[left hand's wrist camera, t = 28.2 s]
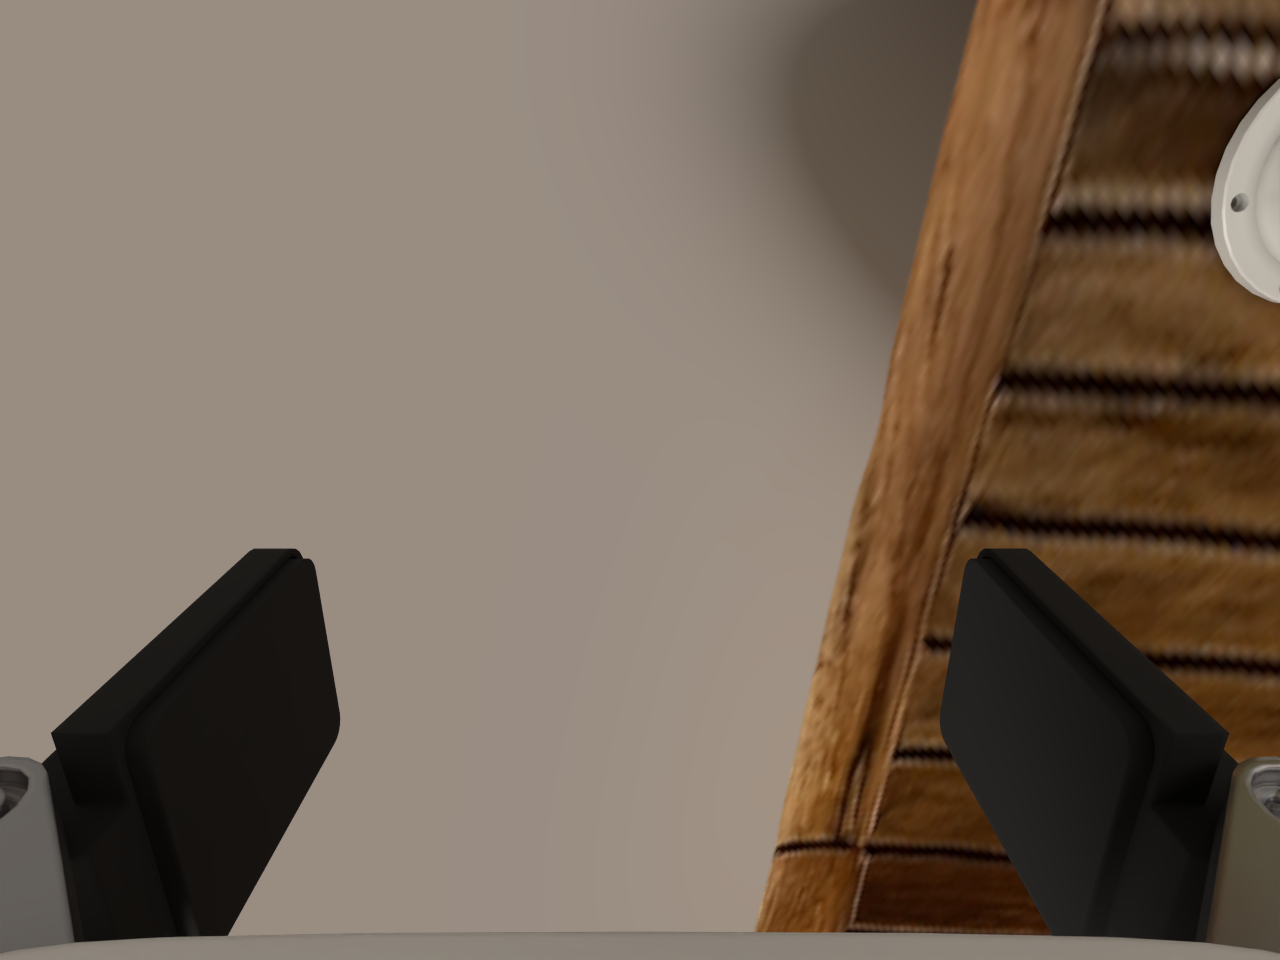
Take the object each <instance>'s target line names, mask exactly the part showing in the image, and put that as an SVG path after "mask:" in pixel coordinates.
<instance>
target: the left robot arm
mask: <svg viewBox="0 0 1280 960" xmlns="http://www.w3.org/2000/svg"><path fill="white" fill-rule="evenodd" d="M1211 226H1212V231H1213V236H1214V241H1215V246H1216V248H1217V251H1218V253H1219V255H1220V257H1221V260H1222V262H1223V264H1224V266H1225V267H1226V268H1227V270H1228V271H1229V272H1230V273H1231V275H1232V276H1233V277H1234V279H1235V280H1236V281H1237V282H1238V283H1240V284H1241V285H1242V286H1243V287H1245V288H1246V289H1247V290H1249V291H1250V292H1251V293H1253V294H1255V295H1257V296H1259V297H1262V298H1264V299H1266V300H1268V301H1271V302H1276V303H1280V79H1278V80H1277V81H1276V82H1275V83H1274V84H1273V85H1272V86H1271V87H1270V88H1269V89H1268V90H1267V91H1266V92H1265V93H1264V94H1263V95H1262V96H1261V97H1260V98H1259V99H1258V100H1257V101H1256V103H1255V104H1254V105H1253V107H1252V108H1251V109H1250V111H1249V112H1248V113H1247V115H1246V116H1245V117H1244V118H1243V120H1242V121H1241V122H1240V124H1239V126H1238V127H1237V129H1236V131H1235V133H1234V135H1233V136H1232V138H1231V140H1230V142H1229V144H1228V145H1227V147H1226V149H1225V152H1224V155H1223V157H1222V160H1221V163H1220V165H1219V168H1218V171H1217V173H1216V178H1215V183H1214V188H1213V193H1212V198H1211ZM339 727H340V712H339V706H338V700H337V694H336V688H335V682H334V676H333V670H332V664H331V658H330V652H329V646H328V641H327V635H326V629H325V623H324V617H323V611H322V605H321V599H320V593H319V587H318V581H317V575H316V570H315V566H314V564H313V562H312V560H310V559H303V557H302V555H301V554H300V552H299V551H298V550H297V549H253V550H251V551H249V552H248V553H247V554H246V555H245V556H244V557H243V558H242V559H241V560H239V561H238V562H237V563H236V564H235V565H234V566H233V567H232V568H231V569H230V570H229V571H227V572H226V573H225V574H224V575H223V576H222V577H221V578H220V579H219V580H218V581H217V582H215V583H214V584H213V585H212V586H211V587H210V588H209V589H208V590H207V591H206V592H204V593H203V594H202V595H201V596H200V597H199V598H198V599H197V600H196V601H195V602H194V603H193V604H191V605H190V606H189V607H188V608H187V609H186V610H185V611H184V612H183V613H182V614H181V615H179V616H178V617H177V618H176V619H175V620H174V621H173V622H172V623H171V624H170V625H168V626H167V627H166V628H165V629H164V630H163V631H162V632H161V633H160V634H159V635H158V636H157V637H155V638H154V639H153V640H152V641H151V642H150V643H149V644H148V645H147V646H146V647H144V648H143V649H142V650H141V651H140V652H139V653H138V654H137V655H136V656H135V657H134V658H132V659H131V660H130V661H129V662H128V663H127V664H126V665H125V666H124V667H123V668H122V669H120V670H119V671H118V672H117V673H116V674H115V675H114V676H113V677H112V678H111V679H110V680H108V681H107V682H106V683H105V684H104V685H103V686H102V687H101V688H100V689H99V690H97V691H96V692H95V693H94V694H93V695H92V696H91V697H90V698H89V699H88V700H87V701H85V702H84V703H83V704H82V705H81V706H80V707H79V708H78V709H77V710H76V711H75V712H74V713H72V714H71V715H70V716H69V717H68V718H67V719H66V720H65V721H64V722H63V723H61V724H60V725H59V726H58V727H57V728H56V729H55V730H54V731H53V732H52V733H51V735H52V738H53V741H54V744H55V747H56V750H55V751H54V752H53V753H52V754H51V755H50V756H49V757H48V758H47V759H46V760H45V761H44V762H43V763H39V762H37V761H35V760H32V759H30V758H26V757H10V756H8V757H0V960H1280V757H1272V756H1270V757H1254V758H1250V759H1247V760H1245V761H1243V762H1241V763H1237V762H1236V761H1235V760H1234V759H1233V758H1232V757H1231V756H1230V755H1229V754H1228V753H1227V752H1226V751H1225V750H1224V747H1225V744H1226V741H1227V738H1228V735H1229V733H1228V732H1227V731H1226V730H1225V729H1224V728H1223V727H1222V726H1221V725H1220V724H1219V723H1217V722H1216V721H1215V720H1214V719H1213V718H1212V717H1211V716H1210V715H1209V714H1208V713H1207V712H1205V711H1204V710H1203V709H1202V708H1201V707H1200V706H1199V705H1198V704H1197V703H1196V702H1195V701H1193V700H1192V699H1191V698H1190V697H1189V696H1188V695H1187V694H1186V693H1185V692H1184V691H1183V690H1181V689H1180V688H1179V687H1178V686H1177V685H1176V684H1175V683H1174V682H1173V681H1172V680H1170V679H1169V678H1168V677H1167V676H1166V675H1165V674H1164V673H1163V672H1162V671H1161V670H1160V669H1158V668H1157V667H1156V666H1155V665H1154V664H1153V663H1152V662H1151V661H1150V660H1149V659H1148V658H1146V657H1145V656H1144V655H1143V654H1142V653H1141V652H1140V651H1139V650H1138V649H1137V648H1136V647H1134V646H1133V645H1132V644H1131V643H1130V642H1129V641H1128V640H1127V639H1126V638H1125V637H1124V636H1122V635H1121V634H1120V633H1119V632H1118V631H1117V630H1116V629H1115V628H1114V627H1113V626H1112V625H1110V624H1109V623H1108V622H1107V621H1106V620H1105V619H1104V618H1103V617H1102V616H1101V615H1100V614H1098V613H1097V612H1096V611H1095V610H1094V609H1093V608H1092V607H1091V606H1090V605H1089V604H1088V603H1086V602H1085V601H1084V600H1083V599H1082V598H1081V597H1080V596H1079V595H1078V594H1077V593H1076V592H1074V591H1073V590H1072V589H1071V588H1070V587H1069V586H1068V585H1067V584H1066V583H1065V582H1063V581H1062V580H1061V579H1060V578H1059V577H1058V576H1057V575H1056V574H1055V573H1054V572H1053V571H1051V570H1050V569H1049V568H1048V567H1047V566H1046V565H1045V564H1044V563H1043V562H1042V561H1041V560H1039V559H1038V558H1037V557H1036V556H1035V555H1034V554H1033V553H1032V552H1031V551H1029V550H1027V549H983V550H982V551H981V552H980V553H979V555H978V557H977V559H970V560H968V562H967V564H966V566H965V570H964V575H963V581H962V587H961V593H960V599H959V605H958V611H957V617H956V623H955V629H954V635H953V640H952V646H951V652H950V658H949V664H948V670H947V676H946V682H945V688H944V694H943V700H942V706H941V712H940V727H941V733H942V736H943V739H944V741H945V743H946V745H947V747H948V749H949V750H950V752H951V754H952V756H953V758H954V759H955V761H956V763H957V765H958V767H959V768H960V770H961V772H962V774H963V776H964V777H965V779H966V781H967V783H968V785H969V786H970V788H971V790H972V792H973V794H974V795H975V797H976V799H977V801H978V803H979V804H980V806H981V808H982V810H983V812H984V813H985V815H986V817H987V819H988V821H989V822H990V824H991V826H992V828H993V830H994V831H995V833H996V835H997V837H998V839H999V840H1000V842H1001V844H1002V846H1003V848H1004V849H1005V851H1006V853H1007V855H1008V857H1009V858H1010V860H1011V862H1012V864H1013V866H1014V867H1015V869H1016V871H1017V873H1018V875H1019V876H1020V878H1021V880H1022V882H1023V884H1024V885H1025V887H1026V889H1027V891H1028V893H1029V894H1030V896H1031V898H1032V900H1033V902H1034V903H1035V905H1036V907H1037V909H1038V911H1039V912H1040V914H1041V916H1042V918H1043V920H1044V921H1045V923H1046V925H1047V927H1048V929H1049V930H1050V932H1051V934H1052V936H1030V935H980V934H930V933H788V932H495V933H493V932H492V933H350V934H300V935H250V936H228V934H229V932H230V930H231V929H232V927H233V925H234V923H235V921H236V920H237V918H238V916H239V914H240V912H241V911H242V909H243V907H244V905H245V903H246V902H247V900H248V898H249V896H250V894H251V893H252V891H253V889H254V887H255V885H256V884H257V882H258V880H259V878H260V876H261V875H262V873H263V871H264V869H265V867H266V866H267V864H268V862H269V860H270V858H271V857H272V855H273V853H274V851H275V849H276V848H277V846H278V844H279V842H280V840H281V839H282V837H283V835H284V833H285V831H286V830H287V828H288V826H289V824H290V822H291V821H292V819H293V817H294V815H295V813H296V812H297V810H298V808H299V806H300V804H301V803H302V801H303V799H304V797H305V795H306V794H307V792H308V790H309V788H310V786H311V785H312V783H313V781H314V779H315V777H316V776H317V774H318V772H319V770H320V768H321V767H322V765H323V763H324V761H325V759H326V758H327V756H328V754H329V752H330V750H331V749H332V747H333V745H334V743H335V741H336V739H337V736H338V733H339Z"/></svg>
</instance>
